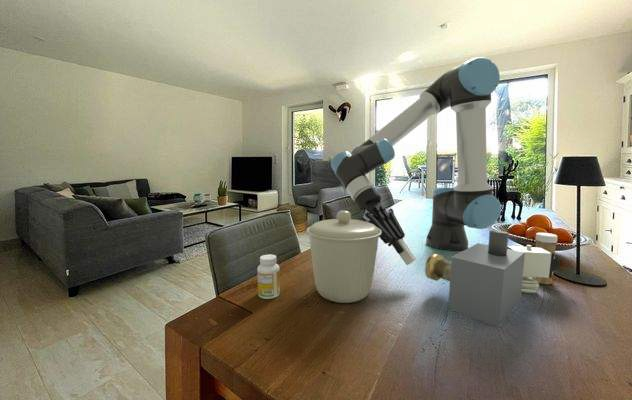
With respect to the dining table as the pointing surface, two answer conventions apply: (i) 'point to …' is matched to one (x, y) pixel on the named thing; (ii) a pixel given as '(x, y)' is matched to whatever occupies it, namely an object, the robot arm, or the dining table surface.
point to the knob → (437, 267)
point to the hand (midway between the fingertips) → (411, 262)
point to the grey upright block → (498, 243)
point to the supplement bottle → (268, 277)
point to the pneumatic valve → (536, 266)
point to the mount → (486, 283)
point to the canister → (343, 257)
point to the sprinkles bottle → (549, 244)
